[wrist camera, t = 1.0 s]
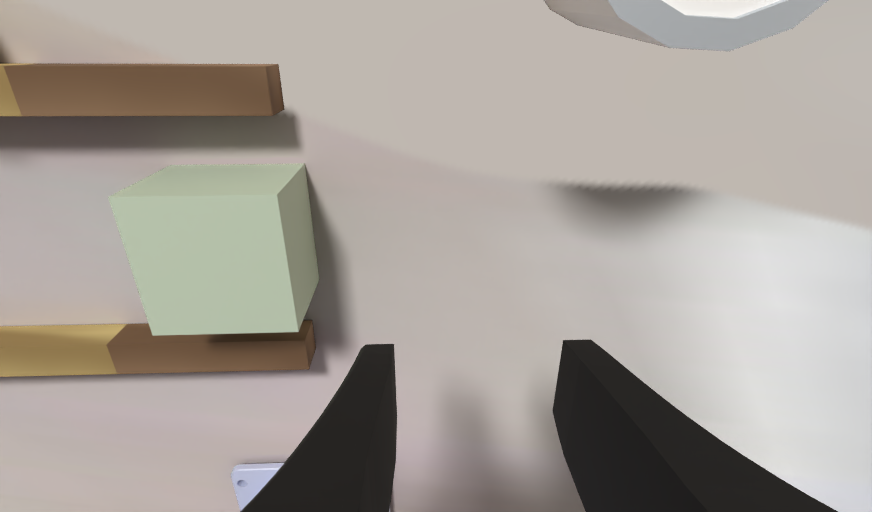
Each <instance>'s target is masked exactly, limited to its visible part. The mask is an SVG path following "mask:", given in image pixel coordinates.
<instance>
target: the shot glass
mask: <svg viewBox="0 0 872 512" xmlns="http://www.w3.org/2000/svg"><path fill="white" fill-rule="evenodd" d="M544 1H545V3H546V4H547V5H548V7H549V8H550V10H552V11H554V12H556V13H557V14H559V15H561V16H563V17H564V18H566V19H568V20H569V21H571V22H573V23H575V24H576V25H579V26H583V27H587V28H591V29H596V30H599V31H603V32H608V33H612V34H616V35H620V36H624V37H628V38H632V39H636V40H640V41H644V42H648V43H652V44H656V45H660V46H665V47H669V48H683V49H701V50H717V51H731V50H734V49H737V48H740V47H743V46H745V45H748V44H751V43H754V42H756V41H759V40H762V39H764V38H767V37H770V36H773V35H776V34H778V33H781V32H784V31H787V30H789V29H792V28H794V27H795V26H796V25H798V24H799V23H800V22H801V21H803V20H804V19H805V18H807V16H809V15H810V14H812V13H813V12H814V11H815V10H816V9H818V8H819V7H820V6H822V5H823V4H824V3H826V2H827V1H828V0H544Z"/></svg>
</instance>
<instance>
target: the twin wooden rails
mask: <svg viewBox="0 0 872 512" xmlns="http://www.w3.org/2000/svg"><path fill="white" fill-rule="evenodd" d="M282 110H284V103H283V96H282V88H281V81H280V73H279V66H278V64H0V116H273V115H275V114H277V113H279V112H280V111H282ZM315 349H316V346H315V338H314V331H313V323H312V320H307V321H303V322H302V324H301V327H300V329H299V332H278V333H238V334H198V335H157V336H152V332H151V329H150V326H149V324H104V325H53V326H2V327H0V377H11V376H52V375H94V374H136V373H178V372H220V371H262V370H303V369H309V368H310V364H311V361H312V358H313V355H314V352H315Z"/></svg>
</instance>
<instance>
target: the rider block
mask: <svg viewBox="0 0 872 512" xmlns="http://www.w3.org/2000/svg"><path fill="white" fill-rule="evenodd" d="M108 198H109V201H110V205H111V208H112V211H113V214H114V217H115V220H116V223H117V226H118V229H119V233H120V236H121V239H122V242H123V245H124V248H125V251H126V254H127V258H128V261H129V264H130V267H131V270H132V273H133V276H134V279H135V283H136V286H137V289H138V292H139V295H140V298H141V301H142V304H143V307H144V311H145V314H146V317H147V320H148V323H149V326H150V329H151V332H152V336H157V335H198V334H238V333H278V332H299V329H300V327H301V324H302V322H303V319H304V317H305V314H306V312H307V309H308V307H309V304H310V302H311V299H312V297H313V294H314V292H315V289H316V287H317V284H318V282H319V273H318V265H317V257H316V249H315V241H314V233H313V225H312V217H311V209H310V201H309V193H308V185H307V177H306V170H305V164H230V165H170V166H168V167H166V168H164V169H162V170H160V171H158V172H156V173H154V174H152V175H150V176H148V177H146V178H144V179H142V180H141V181H139V182H137V183H135V184H133V185H131V186H129V187H127V188H125V189H123V190H121V191H119V192H117V193H115V194H113V195H111V196H109V197H108Z"/></svg>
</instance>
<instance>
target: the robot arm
mask: <svg viewBox="0 0 872 512" xmlns="http://www.w3.org/2000/svg"><path fill="white" fill-rule="evenodd" d="M553 415H554V419H555V423H556V427H557V431H558V435H559V439H560V442H561V446H562V450H563V454H564V457H565V459H566V462H567V465H568V467H569V470H570V472H571V475H572V478H573V480H574V483H575V485H576V488H577V490H578V493H579V495H580V498H581V501H582V503H583V506H584V508H585V511H586V512H838V511H836V510H834V509H832V508H830V507H829V506H827V505H825V504H823V503H821V502H819V501H818V500H816V499H814V498H812V497H810V496H809V495H807V494H805V493H804V492H802V491H800V490H798V489H797V488H795V487H793V486H792V485H790V484H788V483H786V482H785V481H783V480H782V479H780V478H778V477H777V476H775V475H774V474H772V473H770V472H769V471H767V470H766V469H764V468H762V467H761V466H759V465H758V464H756V463H754V462H753V461H751V460H750V459H748V458H747V457H745V456H743V455H742V454H740V453H739V452H737V451H736V450H734V449H733V448H731V447H730V446H728V445H727V444H725V443H724V442H722V441H721V440H719V439H718V438H717V437H715V436H714V435H712V434H711V433H710V432H708V431H707V430H705V429H704V428H703V427H701V426H700V425H698V424H697V423H696V422H694V421H693V420H691V419H690V418H689V417H687V416H686V415H685V414H683V413H682V412H681V411H679V410H678V409H677V408H675V407H674V406H673V405H671V404H670V403H669V402H668V401H666V400H665V399H664V398H662V397H661V396H660V395H659V394H657V393H656V392H655V391H654V390H652V389H651V388H650V387H649V386H647V385H646V384H645V383H644V382H642V381H641V380H640V379H639V378H637V377H636V376H635V375H634V374H633V373H631V372H630V371H629V370H628V369H626V368H625V367H624V366H623V365H622V364H620V363H619V362H618V361H617V360H616V359H614V358H613V357H612V356H611V355H609V354H608V353H607V352H606V351H605V350H603V349H602V348H601V347H600V346H598V345H597V344H596V343H594V342H593V341H592V340H563V346H562V352H561V359H560V366H559V372H558V379H557V386H556V392H555V399H554V406H553ZM396 432H397V406H396V382H395V359H394V344H371V345H365V346H364V347H363V348H361V350H360V352H359V354H358V356H357V358H356V360H355V362H354V364H353V366H352V367H351V369H350V371H349V373H348V374H347V376H346V378H345V379H344V381H343V383H342V384H341V386H340V388H339V389H338V391H337V392H336V394H335V395H334V397H333V398H332V400H331V401H330V403H329V404H328V406H327V407H326V409H325V410H324V412H323V413H322V415H321V416H320V417H319V419H318V420H317V422H316V423H315V424H314V426H313V427H312V428H311V430H310V431H309V432H308V434H307V435H306V436H305V438H304V439H303V440H302V442H301V443H300V444H299V445H298V447H297V448H296V449H295V451H294V452H293V453H292V454H291V456H290V457H289V458H288V459H287V460H286V462H285V463H261V464H240V465H236V466H235V467H234V468H233V470H232V473H231V478H232V482H233V486H234V489H235V493H236V497H237V501H238V504H239V508H240V512H390V502H391V494H392V486H393V478H394V470H395V462H396Z"/></svg>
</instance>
